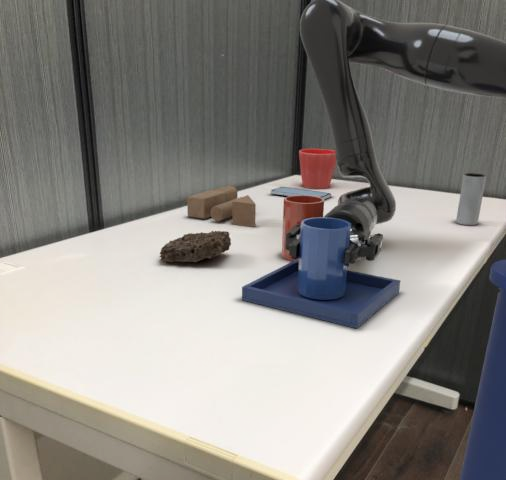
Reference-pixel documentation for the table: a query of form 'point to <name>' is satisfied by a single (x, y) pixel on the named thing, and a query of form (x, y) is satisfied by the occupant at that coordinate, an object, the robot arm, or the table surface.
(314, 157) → the flower pot
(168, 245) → the dark brown rock
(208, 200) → the wooden block set
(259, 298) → the blue tray
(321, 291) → the blue cup
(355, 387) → the table surface
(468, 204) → the grey hollow tube
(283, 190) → the smartphone
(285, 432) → the table surface
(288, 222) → the red cup
